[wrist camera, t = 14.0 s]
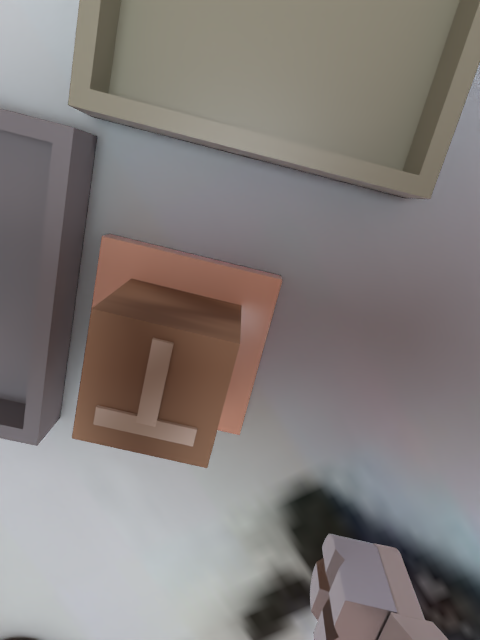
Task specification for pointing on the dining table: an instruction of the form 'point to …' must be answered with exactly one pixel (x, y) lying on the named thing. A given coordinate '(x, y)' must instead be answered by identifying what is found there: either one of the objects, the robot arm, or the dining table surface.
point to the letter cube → (157, 371)
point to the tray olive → (287, 80)
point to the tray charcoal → (38, 265)
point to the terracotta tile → (206, 280)
